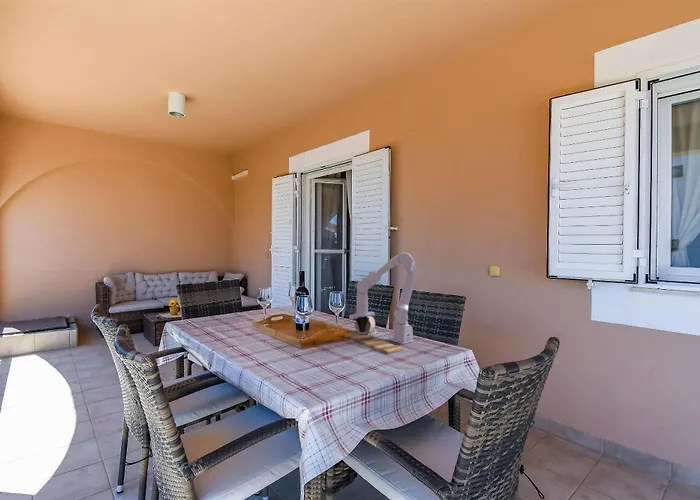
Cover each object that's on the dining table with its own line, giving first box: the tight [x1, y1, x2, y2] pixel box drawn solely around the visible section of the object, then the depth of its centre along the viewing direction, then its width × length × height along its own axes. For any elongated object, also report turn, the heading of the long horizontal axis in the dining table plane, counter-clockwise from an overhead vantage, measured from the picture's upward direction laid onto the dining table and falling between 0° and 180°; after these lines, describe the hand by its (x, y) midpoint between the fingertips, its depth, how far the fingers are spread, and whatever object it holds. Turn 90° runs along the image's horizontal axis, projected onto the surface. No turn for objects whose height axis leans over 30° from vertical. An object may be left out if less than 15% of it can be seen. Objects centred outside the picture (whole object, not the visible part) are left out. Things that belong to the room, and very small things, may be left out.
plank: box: [345, 330, 374, 344], centre depth 187 cm, size 16×9×2 cm, turn 36°
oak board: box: [359, 336, 404, 355], centre depth 172 cm, size 20×9×2 cm, turn 36°
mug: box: [354, 316, 378, 337], centre depth 195 cm, size 12×9×11 cm
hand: (362, 331), depth 183 cm, fingers closed
